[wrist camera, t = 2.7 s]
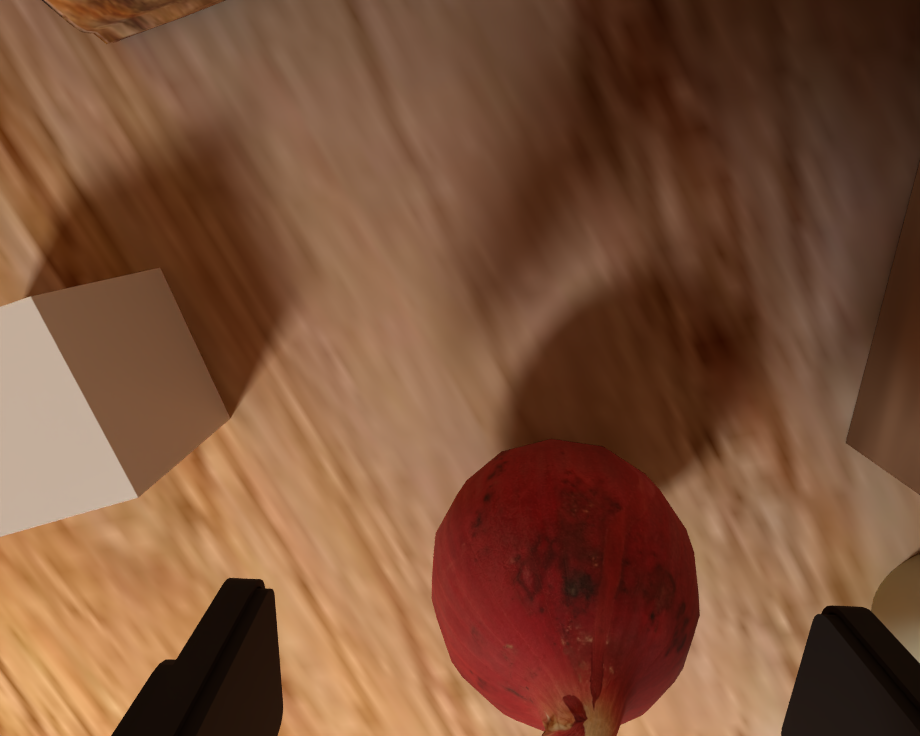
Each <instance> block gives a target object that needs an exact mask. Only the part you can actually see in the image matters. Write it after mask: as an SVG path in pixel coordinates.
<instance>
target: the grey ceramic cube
mask: <svg viewBox="0 0 920 736" xmlns="http://www.w3.org/2000/svg"><path fill="white" fill-rule="evenodd" d="M229 419H230V417H229V414H228V412H227V410H226V408H225V406H224V404H223V402H222V399H221V397H220V395H219V393H218V391H217V389H216V387H215V384H214V382H213V380H212V378H211V376H210V374H209V372H208V369H207V367H206V365H205V363H204V361H203V359H202V356H201V354H200V352H199V350H198V348H197V346H196V344H195V341H194V339H193V337H192V335H191V333H190V331H189V329H188V326H187V324H186V322H185V320H184V318H183V316H182V314H181V311H180V309H179V307H178V305H177V303H176V301H175V299H174V296H173V294H172V292H171V290H170V288H169V286H168V284H167V281H166V279H165V277H164V275H163V273H162V271H161V268H156V269H151V270H147V271H142V272H138V273H133V274H129V275H124V276H120V277H115V278H111V279H106V280H102V281H97V282H93V283H88V284H84V285H79V286H75V287H70V288H66V289H61V290H57V291H52V292H48V293H43V294H39V295H35V296H30V297H27V298H25V299H22V300H19V301H16V302H13V303H10V304H7V305H5V306H2V307H0V537H1V536H4V535H8V534H12V533H15V532H19V531H22V530H26V529H29V528H33V527H36V526H40V525H43V524H47V523H50V522H54V521H57V520H61V519H64V518H68V517H71V516H75V515H78V514H82V513H86V512H89V511H93V510H96V509H100V508H103V507H107V506H110V505H114V504H117V503H121V502H124V501H128V500H131V499H135V498H138V497H139V496H141V495H142V494H143V493H144V492H145V491H146V490H148V489H149V488H150V487H151V486H152V485H153V484H155V483H156V482H157V481H158V480H159V479H160V478H162V477H163V476H164V475H165V474H166V473H167V472H169V471H170V470H171V469H172V468H173V467H174V466H176V465H177V464H178V463H179V462H180V461H181V460H183V459H184V458H185V457H186V456H187V455H188V454H190V453H191V452H192V451H193V450H194V449H195V448H197V447H198V446H199V445H200V444H201V443H202V442H204V441H205V440H206V439H207V438H208V437H209V436H211V435H212V434H213V433H214V432H215V431H216V430H218V429H219V428H220V427H221V426H222V425H223V424H225V423H226V422H227V421H228V420H229Z"/></svg>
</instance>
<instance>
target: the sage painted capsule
mask: <svg viewBox="0 0 920 736" xmlns="http://www.w3.org/2000/svg"><path fill="white" fill-rule="evenodd" d="M871 612H872V613H873V614H874V615H875V616H876V617H877V618H878V619H879V620H880V621H881V622H882V623H883V624H884V625H885V626H886V628H887V629H888V630H889V631H890V632H891V633H892V634H893V635H894V636H895V637H896V638H897V639H898V640H899V642H900V643H901V644H902V645H903V646H904V647H905V648H906V649H907V650H908V651H909V652H910V653H911V654H912V656H913V657H914V658H915V659H916V660H917V661H918V662H919V663H920V554H918V555H916V556H914V557H912V558H910V559H908V560H906V561H905V562H903V563H902V564H900V565H899V566H898V567H896V568H895V569H894V570H893V571H892V572H891V573H890V574H889V575H888V576H887V577H886V578H885V579H884V581H883V582H882V583H881V585H880V586H879V588H878V590H877V592H876V594H875V597H874V599H873V603H872V610H871Z"/></svg>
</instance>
